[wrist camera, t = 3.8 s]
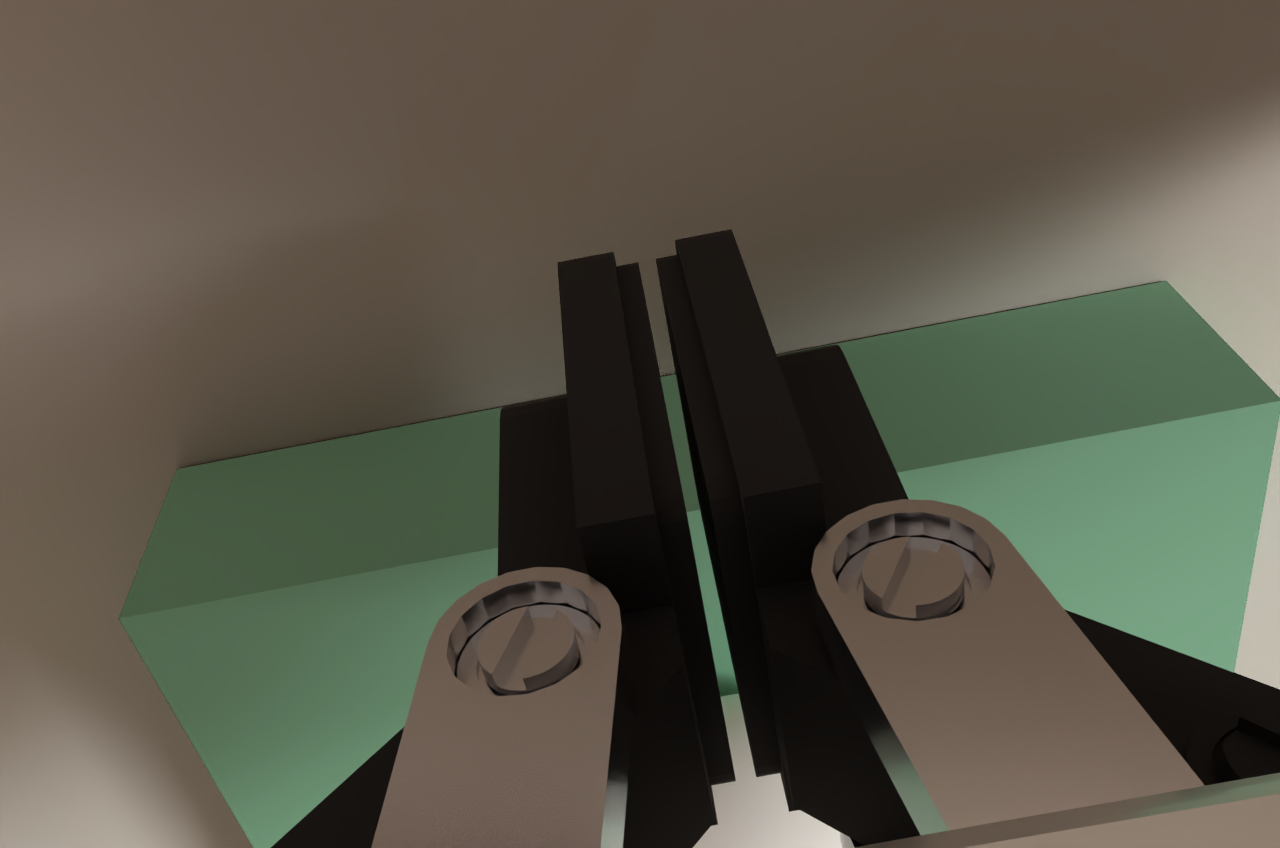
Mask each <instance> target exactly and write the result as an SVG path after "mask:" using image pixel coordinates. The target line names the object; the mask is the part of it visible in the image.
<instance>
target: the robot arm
mask: <svg viewBox="0 0 1280 848" xmlns="http://www.w3.org/2000/svg"><path fill="white" fill-rule="evenodd" d="M675 245H676V253H677V255H675V256H669V257H664V258H659V259H656V263H657V269H658V275H659V281H660V286H661V292H662V298H663V304H664V309H665V315H666V321H667V326H668V332H669V338H670V344H671V349H672V355H673V361H674V366H675V372H676V378H677V383H678V389H679V395H680V401H681V406H682V412H683V418H684V423H685V429H686V435H687V441H688V446H689V452H690V458H691V463H692V469H693V475H694V480H695V486H696V491H697V497H698V502H699V507H700V512H701V517H702V522H703V526H704V531H705V536H706V541H707V545H708V550H709V555H710V560H711V564H712V569H713V574H714V579H715V584H716V588H717V593H718V598H719V603H720V607H721V612H722V617H723V622H724V626H725V631H726V636H727V641H728V646H729V650H730V655H731V660H732V665H733V669H734V674H735V679H736V684H737V688H738V693H739V698H740V703H741V708H742V712H743V717H744V722H745V727H746V731H747V736H748V741H749V746H750V750H751V755H752V760H753V765H754V769H755V774H756V777H761V776H767V775H772V774H778V773H780V775H781V779H782V783H783V788H784V792H785V796H786V801H787V805H788V809H789V812H791V811H796V810H801V811H803V812H804V813H806V814H808V815H810V816H812V817H814V818H815V819H817V820H819V821H821V822H823V823H824V824H826V825H828V826H830V827H832V828H833V829H835V830H837V831H839V832H840V840H841V844H842V848H1280V690H1279V689H1277V688H1274V687H1271V686H1269V685H1266V684H1263V683H1261V682H1258V681H1255V680H1252V679H1250V678H1247V677H1244V676H1242V675H1239V674H1236V673H1234V672H1231V671H1228V670H1226V669H1223V668H1220V667H1218V666H1215V665H1212V664H1210V663H1207V662H1204V661H1202V660H1199V659H1196V658H1193V657H1191V656H1188V655H1185V654H1183V653H1180V652H1177V651H1175V650H1172V649H1169V648H1167V647H1164V646H1161V645H1159V644H1156V643H1153V642H1151V641H1148V640H1145V639H1143V638H1140V637H1137V636H1135V635H1132V634H1129V633H1126V632H1124V631H1121V630H1118V629H1116V628H1113V627H1110V626H1108V625H1105V624H1102V623H1100V622H1097V621H1094V620H1092V619H1089V618H1086V617H1084V616H1081V615H1078V614H1076V613H1073V612H1070V611H1067V610H1065V609H1064V608H1063V607H1062V606H1061V605H1060V603H1059V602H1058V601H1057V600H1056V598H1055V597H1054V596H1053V595H1052V593H1051V592H1050V591H1049V590H1048V588H1047V587H1046V586H1045V585H1044V583H1043V582H1042V581H1041V580H1040V578H1039V577H1038V576H1037V575H1036V573H1035V572H1034V571H1033V570H1032V568H1031V567H1030V566H1029V565H1028V563H1027V562H1026V561H1025V560H1024V558H1023V557H1022V556H1021V555H1020V553H1019V552H1018V551H1017V550H1016V548H1015V547H1014V546H1013V544H1012V543H1011V542H1010V541H1009V539H1008V538H1007V537H1006V536H1005V535H1004V534H1003V533H1002V532H1001V531H1000V530H999V529H997V528H996V527H995V526H994V525H993V524H992V523H991V522H990V521H988V520H987V519H986V518H984V517H982V516H980V515H978V514H976V513H973V512H971V511H969V510H967V509H965V508H963V507H961V506H957V505H952V504H948V503H943V502H939V501H934V500H910V499H908V496H907V494H906V492H905V490H904V487H903V485H902V483H901V481H900V478H899V476H898V474H897V472H896V469H895V467H894V465H893V463H892V460H891V458H890V456H889V454H888V451H887V449H886V447H885V445H884V443H883V440H882V438H881V436H880V434H879V431H878V429H877V427H876V425H875V422H874V420H873V418H872V416H871V413H870V411H869V409H868V407H867V404H866V402H865V400H864V398H863V395H862V393H861V391H860V389H859V386H858V384H857V382H856V380H855V378H854V375H853V373H852V371H851V369H850V366H849V364H848V362H847V360H846V357H845V355H844V353H843V351H842V350H841V348H840V346H838V345H836V344H835V345H830V346H824V347H819V348H814V349H808V350H803V351H798V352H792V353H787V354H782V355H776V353H775V350H774V347H773V345H772V342H771V339H770V336H769V333H768V330H767V328H766V325H765V322H764V319H763V316H762V314H761V311H760V308H759V305H758V302H757V299H756V297H755V294H754V291H753V288H752V285H751V283H750V280H749V277H748V274H747V271H746V268H745V266H744V263H743V260H742V257H741V254H740V252H739V249H738V246H737V243H736V240H735V237H734V235H733V232H732V230H725V231H720V232H715V233H710V234H704V235H699V236H694V237H689V238H683V239H678V240H675ZM558 277H559V291H560V305H561V319H562V333H563V347H564V361H565V375H566V389H567V395H564V396H559V397H553V398H548V399H543V400H537V401H532V402H527V403H522V404H516V405H511V406H506V407H503V408H502V409H501V412H500V438H499V513H498V577H495V578H493V579H491V580H488V581H486V582H483V583H481V584H479V585H478V586H476V587H475V588H473V589H472V590H470V591H469V592H467V593H466V594H465V595H463V596H462V597H460V598H459V599H457V600H456V601H455V602H454V603H453V604H452V606H451V607H450V608H449V609H448V610H447V611H446V612H445V613H444V614H443V616H442V617H441V618H440V619H439V620H438V622H437V624H436V626H435V628H434V630H433V632H432V634H431V637H430V639H429V641H428V643H427V647H426V650H425V654H424V658H423V661H422V665H421V669H420V672H419V676H418V680H417V683H416V687H415V690H414V694H413V698H412V701H411V705H410V709H409V712H408V716H407V720H406V723H405V726H404V727H403V728H402V729H401V730H400V731H399V732H398V733H397V734H396V735H394V736H393V737H392V738H391V739H390V740H389V741H388V742H387V743H386V744H385V745H383V746H382V747H381V748H380V749H379V750H378V751H377V752H376V753H375V754H373V755H372V756H371V757H370V758H369V759H368V760H367V761H366V762H365V763H364V764H362V765H361V766H360V767H359V768H358V769H357V770H356V771H355V772H354V773H353V774H351V775H350V776H349V777H348V778H347V779H346V780H345V781H344V782H343V783H341V784H340V785H339V786H338V787H337V788H336V789H335V790H334V791H333V792H332V793H330V794H329V795H328V796H327V797H326V798H325V799H324V800H323V801H322V802H321V803H319V804H318V805H317V806H316V807H315V808H314V809H313V810H312V811H311V812H309V813H308V814H307V815H306V816H305V817H304V818H303V819H302V820H301V821H300V822H298V823H297V824H296V825H295V826H294V827H293V828H292V829H291V830H290V831H289V832H287V833H286V834H285V835H284V836H283V837H282V838H281V839H280V840H279V841H277V842H276V843H275V844H274V845H273V846H272V847H271V848H693V847H694V846H695V844H696V843H697V842H698V841H699V840H700V838H701V837H702V836H703V835H704V834H705V832H706V831H707V830H708V829H709V828H710V826H713V825H718V821H717V815H716V809H715V804H714V798H713V792H712V785H717V784H723V783H728V782H734V781H736V779H735V773H734V768H733V762H732V757H731V751H730V746H729V740H728V735H727V730H726V724H725V719H724V713H723V708H722V702H721V697H720V691H719V686H718V681H717V675H716V670H715V664H714V659H713V653H712V648H711V643H710V637H709V632H708V626H707V621H706V615H705V610H704V604H703V599H702V594H701V588H700V583H699V577H698V572H697V566H696V561H695V555H694V550H693V545H692V539H691V534H690V528H689V523H688V518H687V512H686V507H685V502H684V497H683V491H682V486H681V481H680V476H679V471H678V466H677V460H676V455H675V450H674V445H673V440H672V435H671V429H670V424H669V419H668V414H667V409H666V404H665V399H664V393H663V388H662V383H661V378H660V373H659V368H658V363H657V357H656V352H655V347H654V342H653V337H652V332H651V327H650V321H649V316H648V311H647V306H646V301H645V296H644V291H643V285H642V280H641V275H640V270H639V265H638V263H633V264H627V265H622V266H617V267H616V262H615V257H614V253H613V252H610V253H605V254H600V255H594V256H589V257H584V258H579V259H573V260H568V261H563V262H558Z"/></svg>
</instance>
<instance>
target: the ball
mask: <svg viewBox="0 0 1280 848" xmlns="http://www.w3.org/2000/svg"><path fill="white" fill-rule="evenodd" d="M721 702H722V708H723V713H724V719H725V724H726V730H727V735H728V740H729V746H730V751H731V757H732V762H733V768H734V773H735V779H736V781H734V782H728V783H723V784H717V785H712V792H713V798H714V804H715V809H716V815H717V821H718V825H713V826H710V828H709V829H708V830H707V831H706V832H705V834H704V835H703V836H702V837H701V838H700V840H699V841H698V842H697V843H696V844H695V846H694V847H693V848H842V844H841V840H840V832H839V831H837V830H835V829H833V828H832V827H830V826H828V825H826V824H824V823H823V822H821V821H819V820H817V819H815V818H814V817H812V816H810V815H808V814H806V813H804V812H803V811H801V810H796V811H791V812H789V809H788V805H787V801H786V796H785V792H784V788H783V783H782V779H781V775H780V773H778V774H772V775H767V776H761V777H756V774H755V769H754V765H753V760H752V755H751V750H750V746H749V741H748V736H747V731H746V727H745V722H744V717H743V712H742V708H741V703H740V698H739V694H732V695H726V696H722V697H721Z"/></svg>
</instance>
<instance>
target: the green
mask: <svg viewBox="0 0 1280 848" xmlns="http://www.w3.org/2000/svg"><path fill="white" fill-rule="evenodd" d="M831 345H835V344H831ZM836 345H838V346H840V348H841V350H842V351H843V353H844V355H845V357H846V360H847V362H848V364H849V366H850V369H851V371H852V373H853V375H854V378H855V380H856V382H857V384H858V386H859V389H860V391H861V393H862V395H863V398H864V400H865V402H866V404H867V407H868V409H869V411H870V413H871V416H872V418H873V420H874V422H875V425H876V427H877V429H878V431H879V434H880V436H881V438H882V440H883V443H884V445H885V447H886V449H887V451H888V454H889V456H890V458H891V460H892V463H893V465H894V467H895V469H896V472H897V474H898V476H899V478H900V481H901V483H902V485H903V487H904V490H905V492H906V494H907V496H908V499H910V500H934V501H939V502H943V503H948V504H952V505H957V506H961V507H963V508H965V509H967V510H969V511H971V512H973V513H976V514H978V515H980V516H982V517H984V518H986V519H987V520H988V521H990V522H991V523H992V524H993V525H994V526H995V527H996V528H997V529H999V530H1000V531H1001V532H1002V533H1003V534H1004V535H1005V536H1006V537H1007V538H1008V539H1009V541H1010V542H1011V543H1012V544H1013V546H1014V547H1015V548H1016V550H1017V551H1018V552H1019V553H1020V555H1021V556H1022V557H1023V558H1024V560H1025V561H1026V562H1027V563H1028V565H1029V566H1030V567H1031V568H1032V570H1033V571H1034V572H1035V573H1036V575H1037V576H1038V577H1039V578H1040V580H1041V581H1042V582H1043V583H1044V585H1045V586H1046V587H1047V588H1048V590H1049V591H1050V592H1051V593H1052V595H1053V596H1054V597H1055V598H1056V600H1057V601H1058V602H1059V603H1060V605H1061V606H1062V607H1063V608H1064V609H1065V610H1067V611H1070V612H1073V613H1076V614H1078V615H1081V616H1084V617H1086V618H1089V619H1092V620H1094V621H1097V622H1100V623H1102V624H1105V625H1108V626H1110V627H1113V628H1116V629H1118V630H1121V631H1124V632H1126V633H1129V634H1132V635H1135V636H1137V637H1140V638H1143V639H1145V640H1148V641H1151V642H1153V643H1156V644H1159V645H1161V646H1164V647H1167V648H1169V649H1172V650H1175V651H1177V652H1180V653H1183V654H1185V655H1188V656H1191V657H1193V658H1196V659H1199V660H1202V661H1204V662H1207V663H1210V664H1212V665H1215V666H1218V667H1220V668H1223V669H1226V670H1228V671H1231V672H1234V669H1235V663H1236V658H1237V652H1238V646H1239V641H1240V635H1241V630H1242V624H1243V618H1244V613H1245V607H1246V601H1247V596H1248V590H1249V584H1250V579H1251V573H1252V568H1253V562H1254V556H1255V551H1256V545H1257V539H1258V534H1259V528H1260V522H1261V517H1262V511H1263V506H1264V500H1265V494H1266V489H1267V483H1268V477H1269V472H1270V466H1271V460H1272V455H1273V449H1274V444H1275V438H1276V432H1277V427H1278V421H1279V415H1280V398H1279V397H1278V396H1277V395H1276V394H1275V393H1274V392H1273V391H1272V389H1271V388H1270V387H1269V386H1268V385H1267V384H1266V383H1265V382H1264V381H1263V380H1262V379H1261V378H1260V377H1259V376H1258V375H1257V374H1256V373H1255V372H1254V371H1253V370H1252V369H1251V368H1250V367H1249V366H1248V365H1247V364H1246V363H1245V362H1244V361H1243V360H1242V359H1241V357H1240V356H1239V355H1238V354H1237V353H1236V352H1235V351H1234V350H1233V349H1232V348H1231V347H1230V346H1229V345H1228V344H1227V343H1226V342H1225V341H1224V340H1223V339H1222V338H1221V337H1220V336H1219V335H1218V334H1217V333H1216V332H1215V331H1214V330H1213V329H1212V328H1211V326H1210V325H1209V324H1208V323H1207V322H1206V321H1205V320H1204V319H1203V318H1202V317H1201V316H1200V315H1199V314H1198V313H1197V312H1196V311H1195V310H1194V309H1193V308H1192V307H1191V306H1190V305H1189V304H1188V303H1187V302H1186V301H1185V300H1184V299H1183V298H1182V297H1181V296H1180V294H1179V293H1178V292H1177V291H1176V290H1175V289H1174V288H1173V287H1172V286H1171V285H1170V284H1169V283H1168V282H1167V281H1162V282H1157V283H1152V284H1147V285H1141V286H1136V287H1131V288H1126V289H1120V290H1115V291H1110V292H1105V293H1099V294H1094V295H1089V296H1084V297H1078V298H1073V299H1068V300H1063V301H1057V302H1052V303H1047V304H1042V305H1036V306H1031V307H1026V308H1021V309H1015V310H1010V311H1005V312H1000V313H994V314H989V315H984V316H979V317H973V318H968V319H963V320H957V321H952V322H947V323H942V324H936V325H931V326H926V327H921V328H915V329H910V330H905V331H900V332H894V333H889V334H884V335H879V336H873V337H868V338H863V339H858V340H852V341H847V342H842V343H837V344H836ZM826 346H830V345H826ZM821 347H824V346H821ZM816 348H819V347H816ZM810 349H814V348H810ZM805 350H808V349H805ZM800 351H803V350H800ZM795 352H798V351H795ZM789 353H792V352H789ZM784 354H787V353H784ZM779 355H782V354H779ZM660 378H661V383H662V388H663V393H664V399H665V404H666V409H667V414H668V419H669V424H670V429H671V435H672V440H673V445H674V450H675V455H676V460H677V466H678V471H679V476H680V481H681V486H682V491H683V497H684V502H685V507H686V512H687V518H688V523H689V528H690V534H691V539H692V545H693V550H694V555H695V561H696V566H697V572H698V577H699V583H700V588H701V594H702V599H703V604H704V610H705V615H706V621H707V626H708V632H709V637H710V643H711V648H712V653H713V659H714V664H715V670H716V675H717V681H718V686H719V691H720V697H722V696H726V695H732V694H739V693H738V688H737V684H736V679H735V674H734V669H733V665H732V660H731V655H730V650H729V646H728V641H727V636H726V631H725V626H724V622H723V617H722V612H721V607H720V603H719V598H718V593H717V588H716V584H715V579H714V574H713V569H712V564H711V560H710V555H709V550H708V545H707V541H706V536H705V531H704V526H703V522H702V517H701V512H700V507H699V502H698V497H697V491H696V486H695V480H694V475H693V469H692V463H691V458H690V452H689V446H688V441H687V435H686V429H685V423H684V418H683V412H682V406H681V401H680V395H679V389H678V383H677V378H676V374H674V375H669V376H663V377H660ZM563 396H564V395H563ZM558 397H559V396H558ZM542 400H543V399H542ZM521 404H522V403H521ZM502 408H503V407H500V408H495V409H490V410H485V411H479V412H474V413H469V414H464V415H458V416H453V417H448V418H443V419H437V420H432V421H427V422H422V423H416V424H411V425H406V426H401V427H395V428H390V429H385V430H380V431H374V432H369V433H364V434H359V435H353V436H348V437H343V438H337V439H332V440H327V441H322V442H316V443H311V444H306V445H301V446H295V447H290V448H285V449H280V450H274V451H269V452H264V453H259V454H253V455H248V456H243V457H238V458H232V459H227V460H222V461H217V462H211V463H206V464H201V465H196V466H190V467H185V468H180V469H177V470H176V472H175V475H174V477H173V480H172V483H171V485H170V488H169V490H168V493H167V496H166V498H165V501H164V503H163V506H162V508H161V511H160V514H159V516H158V519H157V521H156V524H155V526H154V529H153V532H152V534H151V537H150V539H149V542H148V545H147V547H146V550H145V552H144V555H143V557H142V560H141V563H140V565H139V568H138V570H137V573H136V575H135V578H134V581H133V583H132V586H131V588H130V591H129V594H128V596H127V599H126V601H125V604H124V606H123V609H122V612H121V614H120V617H119V620H120V622H121V624H122V625H123V627H124V629H125V630H126V632H127V634H128V635H129V637H130V639H131V641H132V642H133V644H134V646H135V647H136V649H137V651H138V652H139V654H140V656H141V658H142V659H143V661H144V663H145V664H146V666H147V668H148V669H149V671H150V673H151V675H152V676H153V678H154V680H155V681H156V683H157V685H158V687H159V688H160V690H161V692H162V693H163V695H164V697H165V698H166V700H167V702H168V704H169V705H170V707H171V709H172V710H173V712H174V714H175V715H176V717H177V719H178V721H179V722H180V724H181V726H182V727H183V729H184V731H185V732H186V734H187V736H188V738H189V739H190V741H191V743H192V744H193V746H194V748H195V749H196V751H197V753H198V755H199V756H200V758H201V760H202V761H203V763H204V765H205V767H206V768H207V770H208V772H209V773H210V775H211V777H212V778H213V780H214V782H215V784H216V785H217V787H218V789H219V790H220V792H221V794H222V795H223V797H224V799H225V801H226V802H227V804H228V806H229V807H230V809H231V811H232V812H233V814H234V816H235V818H236V819H237V821H238V823H239V824H240V826H241V828H242V829H243V831H244V833H245V835H246V836H247V838H248V840H249V841H250V843H251V845H252V847H253V848H271V847H272V846H273V845H274V844H275V843H276V842H277V841H279V840H280V839H281V838H282V837H283V836H284V835H285V834H286V833H287V832H289V831H290V830H291V829H292V828H293V827H294V826H295V825H296V824H297V823H298V822H300V821H301V820H302V819H303V818H304V817H305V816H306V815H307V814H308V813H309V812H311V811H312V810H313V809H314V808H315V807H316V806H317V805H318V804H319V803H321V802H322V801H323V800H324V799H325V798H326V797H327V796H328V795H329V794H330V793H332V792H333V791H334V790H335V789H336V788H337V787H338V786H339V785H340V784H341V783H343V782H344V781H345V780H346V779H347V778H348V777H349V776H350V775H351V774H353V773H354V772H355V771H356V770H357V769H358V768H359V767H360V766H361V765H362V764H364V763H365V762H366V761H367V760H368V759H369V758H370V757H371V756H372V755H373V754H375V753H376V752H377V751H378V750H379V749H380V748H381V747H382V746H383V745H385V744H386V743H387V742H388V741H389V740H390V739H391V738H392V737H393V736H394V735H396V734H397V733H398V732H399V731H400V730H401V729H402V728H403V727H404V726H405V723H406V720H407V716H408V712H409V709H410V705H411V701H412V698H413V694H414V690H415V687H416V683H417V680H418V676H419V672H420V669H421V665H422V661H423V658H424V654H425V650H426V647H427V643H428V641H429V639H430V637H431V634H432V632H433V630H434V628H435V626H436V624H437V622H438V620H439V619H440V618H441V617H442V616H443V614H444V613H445V612H446V611H447V610H448V609H449V608H450V607H451V606H452V604H453V603H454V602H455V601H456V600H457V599H459V598H460V597H462V596H463V595H465V594H466V593H467V592H469V591H470V590H472V589H473V588H475V587H476V586H478V585H479V584H481V583H483V582H486V581H488V580H491V579H493V578H495V577H498V513H499V438H500V412H501V409H502Z"/></svg>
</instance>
